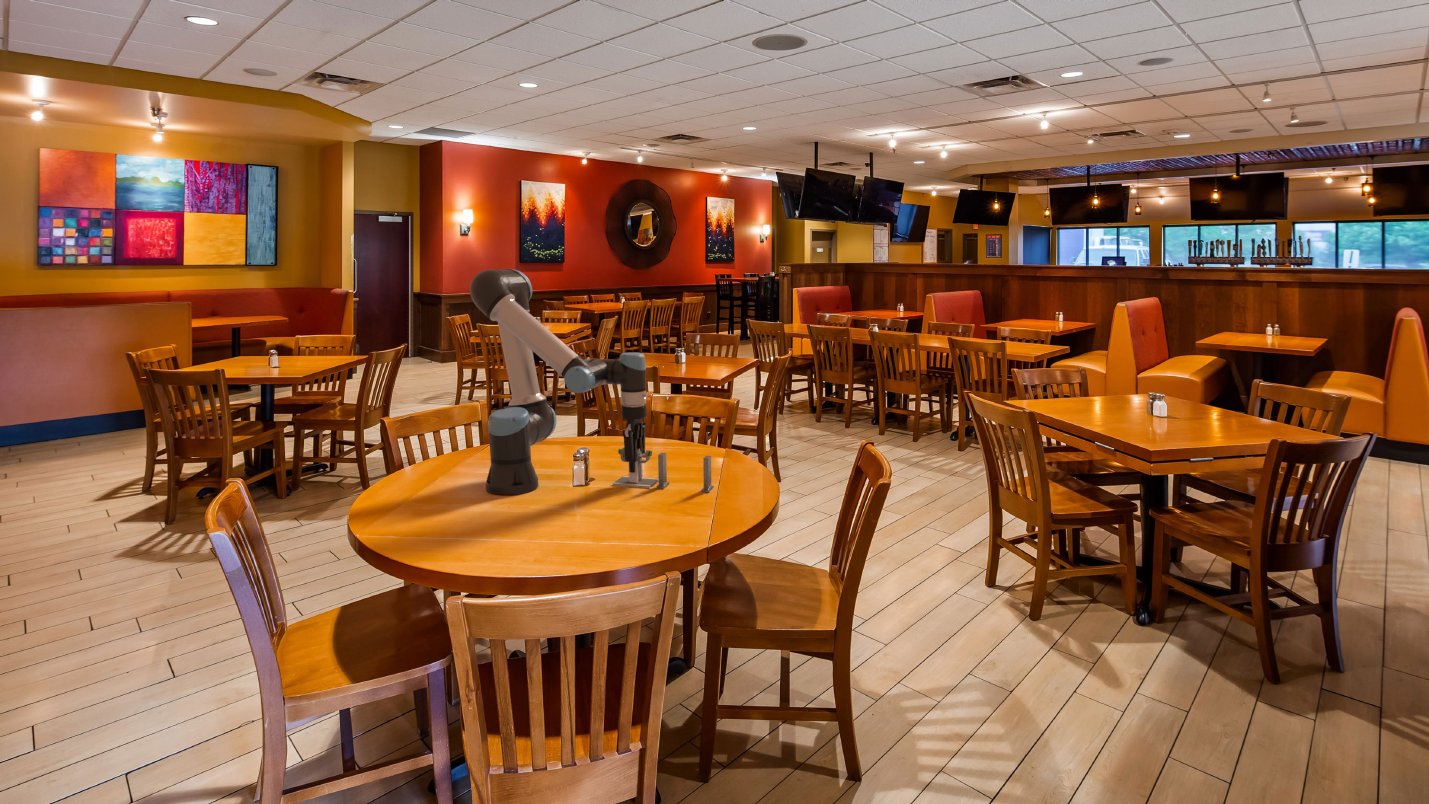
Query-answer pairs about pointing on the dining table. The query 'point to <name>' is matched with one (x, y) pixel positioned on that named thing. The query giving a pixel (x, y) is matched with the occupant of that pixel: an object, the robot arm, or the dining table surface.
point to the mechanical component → (646, 455)
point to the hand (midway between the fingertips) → (635, 480)
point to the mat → (641, 483)
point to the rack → (663, 473)
